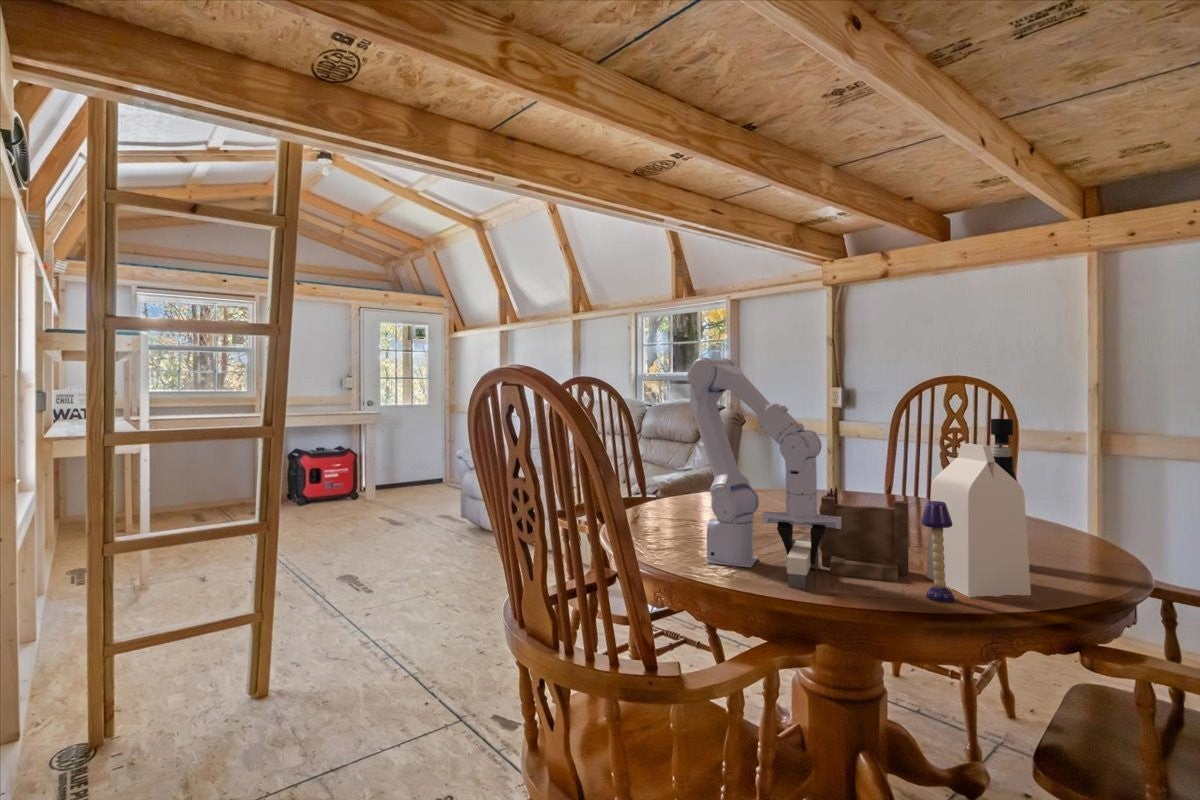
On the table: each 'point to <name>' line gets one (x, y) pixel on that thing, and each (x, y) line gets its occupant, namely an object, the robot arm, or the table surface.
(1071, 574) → the table surface
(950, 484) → the milk
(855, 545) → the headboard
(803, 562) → the beige block
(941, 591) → the toy lamp
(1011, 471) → the wine bottle
